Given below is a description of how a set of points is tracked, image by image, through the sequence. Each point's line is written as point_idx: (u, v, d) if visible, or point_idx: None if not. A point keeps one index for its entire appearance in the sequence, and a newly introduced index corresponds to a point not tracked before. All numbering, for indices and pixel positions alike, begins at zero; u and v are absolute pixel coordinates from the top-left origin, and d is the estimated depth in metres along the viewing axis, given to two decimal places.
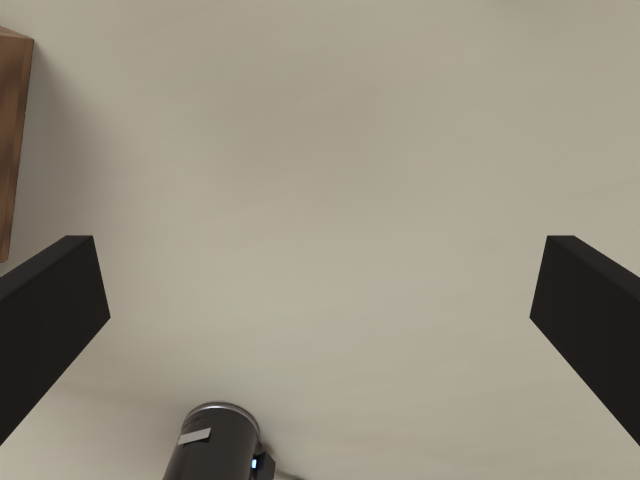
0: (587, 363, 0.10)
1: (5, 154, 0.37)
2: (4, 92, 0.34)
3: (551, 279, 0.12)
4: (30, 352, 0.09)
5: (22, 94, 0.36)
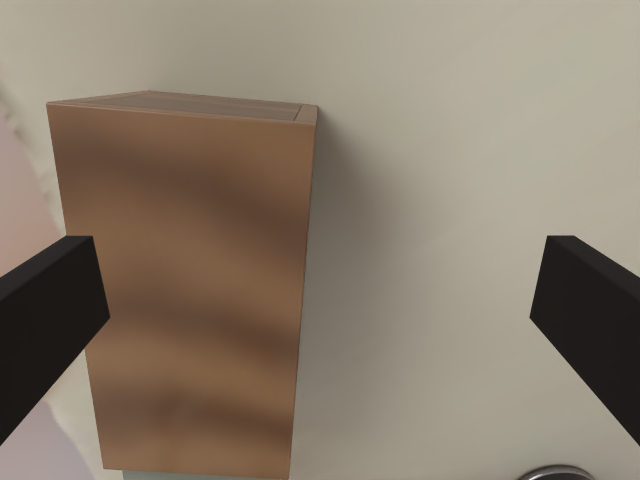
0: (587, 363, 0.10)
1: None
2: None
3: (551, 279, 0.12)
4: (30, 352, 0.09)
5: None
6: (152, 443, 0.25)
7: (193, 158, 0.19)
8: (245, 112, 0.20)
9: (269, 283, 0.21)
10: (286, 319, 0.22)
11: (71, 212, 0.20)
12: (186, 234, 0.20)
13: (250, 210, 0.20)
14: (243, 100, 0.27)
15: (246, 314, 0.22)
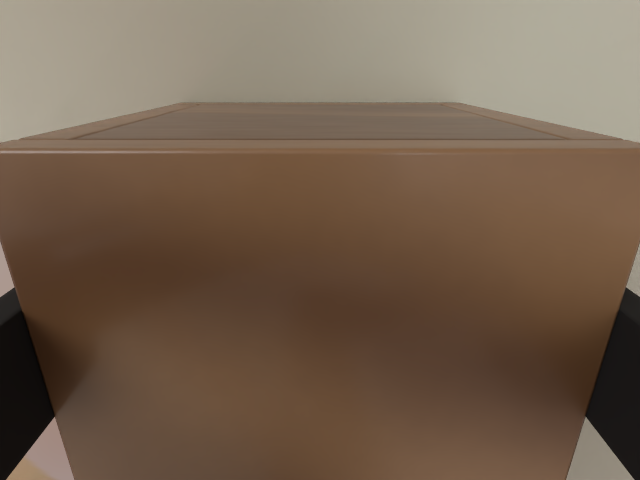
0: None
1: None
2: None
3: None
4: None
5: None
6: None
7: (344, 253, 0.08)
8: (421, 128, 0.09)
9: None
10: None
11: (63, 386, 0.09)
12: (319, 411, 0.09)
13: (470, 355, 0.08)
14: (344, 104, 0.16)
15: None
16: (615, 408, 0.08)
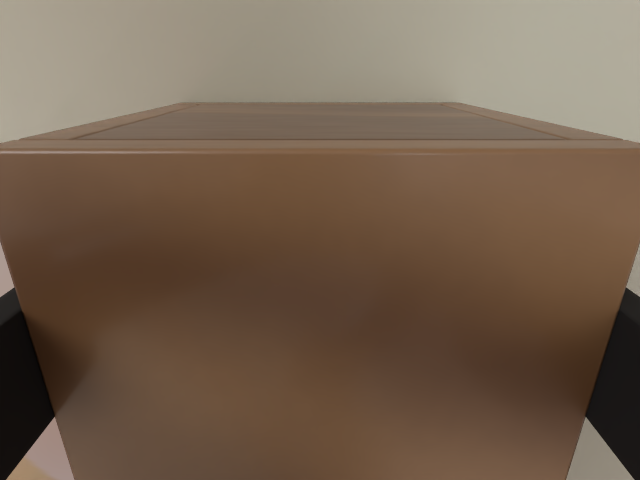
0: None
1: None
2: None
3: None
4: None
5: None
6: None
7: (344, 253, 0.08)
8: (421, 128, 0.09)
9: None
10: None
11: (64, 386, 0.09)
12: (320, 411, 0.09)
13: (470, 355, 0.08)
14: (344, 104, 0.16)
15: None
16: (615, 408, 0.08)
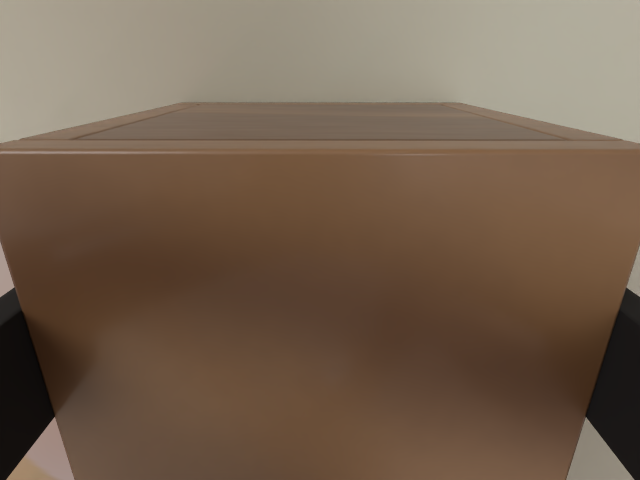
0: None
1: None
2: None
3: None
4: None
5: None
6: None
7: (344, 254, 0.08)
8: (421, 128, 0.09)
9: None
10: None
11: (63, 386, 0.09)
12: (319, 411, 0.09)
13: (470, 356, 0.08)
14: (344, 104, 0.16)
15: None
16: (615, 408, 0.08)
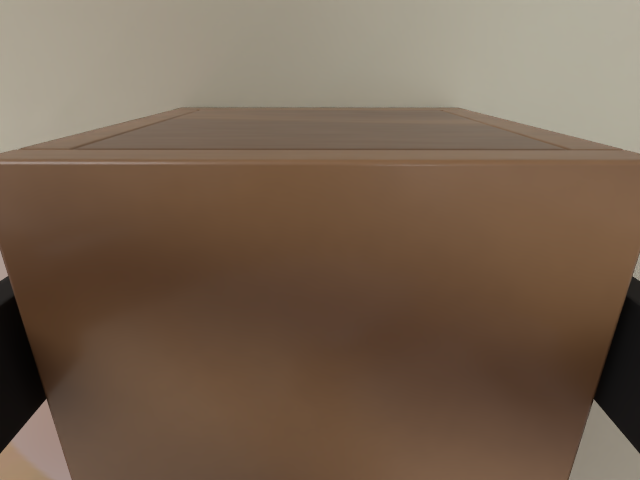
0: None
1: None
2: None
3: None
4: None
5: None
6: None
7: (344, 263, 0.08)
8: (421, 136, 0.09)
9: None
10: None
11: (63, 394, 0.09)
12: (319, 419, 0.09)
13: (470, 364, 0.08)
14: (344, 110, 0.16)
15: None
16: None
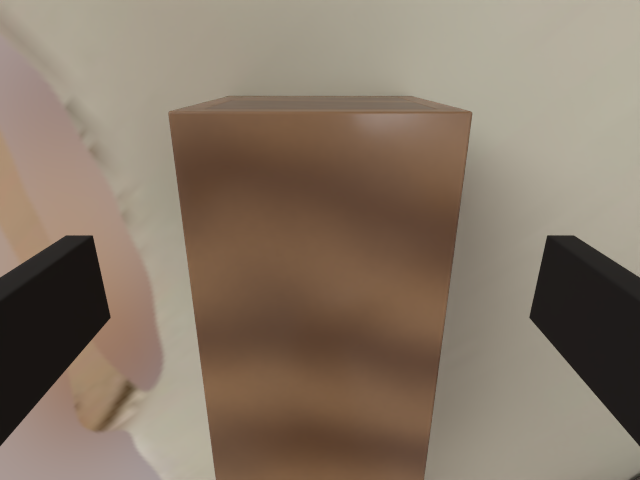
0: (587, 364, 0.10)
1: None
2: None
3: (550, 279, 0.12)
4: (30, 352, 0.09)
5: None
6: (273, 477, 0.23)
7: (331, 161, 0.16)
8: (372, 106, 0.18)
9: (410, 294, 0.19)
10: (427, 333, 0.20)
11: (193, 232, 0.18)
12: (320, 247, 0.18)
13: (393, 215, 0.17)
14: (335, 97, 0.25)
15: (383, 331, 0.19)
16: None
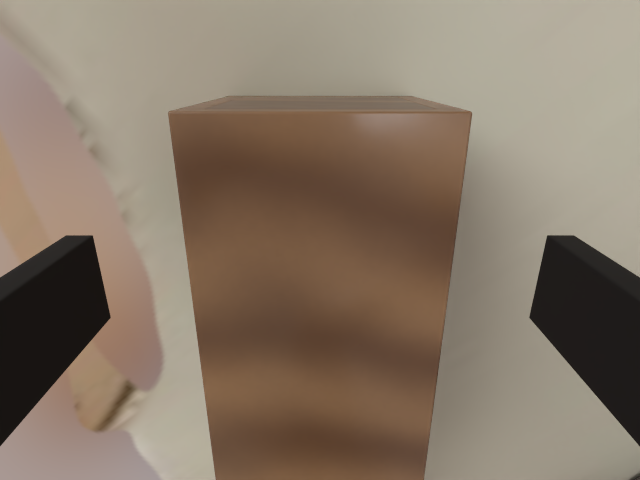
0: (587, 364, 0.10)
1: None
2: None
3: (550, 279, 0.12)
4: (30, 352, 0.09)
5: None
6: (272, 477, 0.23)
7: (331, 161, 0.16)
8: (372, 106, 0.18)
9: (409, 295, 0.19)
10: (427, 333, 0.20)
11: (193, 232, 0.18)
12: (319, 247, 0.18)
13: (393, 215, 0.17)
14: (335, 97, 0.25)
15: (382, 331, 0.19)
16: None
